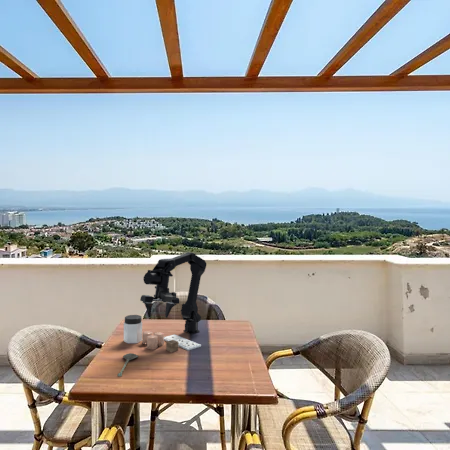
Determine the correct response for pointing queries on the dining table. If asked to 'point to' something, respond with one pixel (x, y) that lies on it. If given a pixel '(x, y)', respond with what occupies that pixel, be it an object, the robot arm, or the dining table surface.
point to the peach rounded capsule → (160, 338)
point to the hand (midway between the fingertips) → (157, 317)
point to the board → (183, 342)
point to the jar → (132, 329)
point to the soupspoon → (128, 357)
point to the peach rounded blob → (152, 342)
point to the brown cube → (172, 345)
